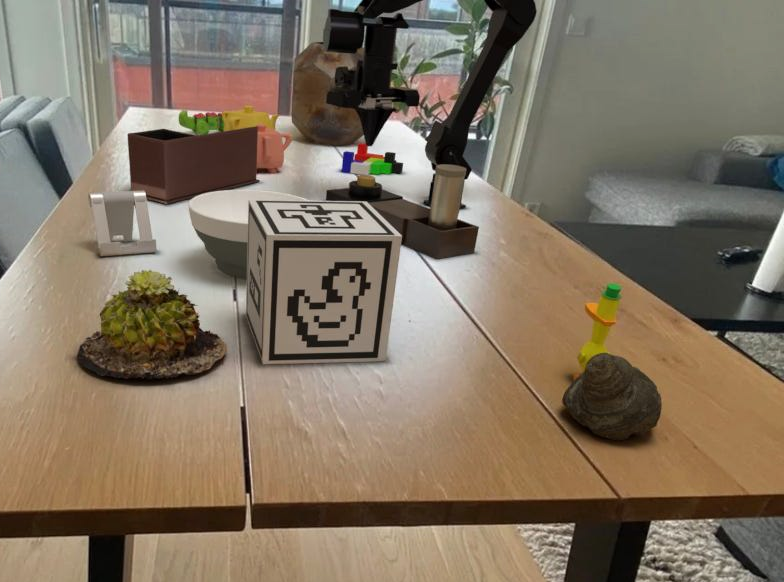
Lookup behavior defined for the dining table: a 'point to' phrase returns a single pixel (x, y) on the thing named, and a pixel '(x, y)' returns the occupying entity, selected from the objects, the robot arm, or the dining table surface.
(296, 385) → the dining table surface
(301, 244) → the block
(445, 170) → the tin
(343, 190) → the yellow push button box
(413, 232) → the stepped brown tray
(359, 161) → the building blocks
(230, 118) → the teapot
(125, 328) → the cactus
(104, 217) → the tablet stand
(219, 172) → the desk organizer
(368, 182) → the button
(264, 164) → the teapot
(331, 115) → the planter
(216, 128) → the toy crocodile
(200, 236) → the bowl
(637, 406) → the seashell
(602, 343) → the toy figure
